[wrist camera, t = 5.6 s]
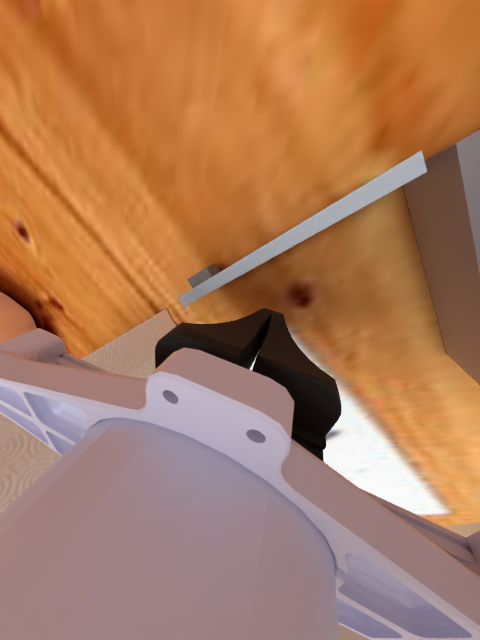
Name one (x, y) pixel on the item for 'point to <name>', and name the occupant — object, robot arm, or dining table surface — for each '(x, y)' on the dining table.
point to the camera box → (452, 244)
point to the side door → (307, 227)
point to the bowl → (13, 319)
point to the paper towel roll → (115, 357)
